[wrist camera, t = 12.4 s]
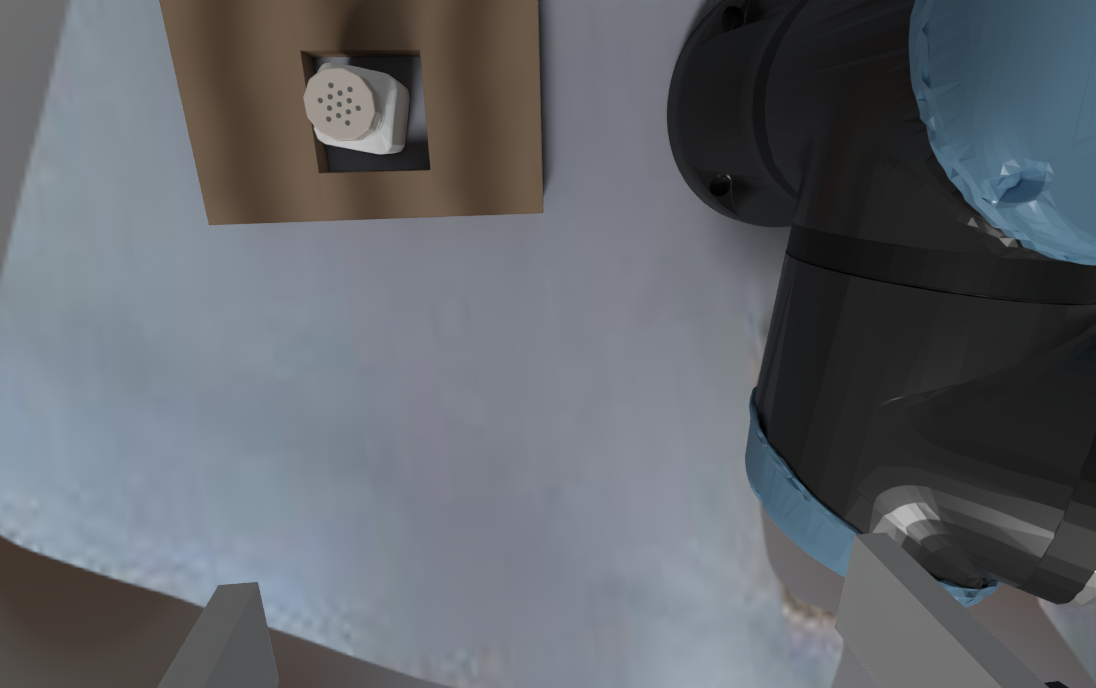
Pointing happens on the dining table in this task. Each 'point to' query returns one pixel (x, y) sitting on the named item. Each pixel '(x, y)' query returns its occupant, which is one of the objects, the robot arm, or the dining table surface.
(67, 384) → the dining table surface
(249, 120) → the spice block
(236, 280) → the dining table surface
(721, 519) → the dining table surface
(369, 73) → the pepper shaker
